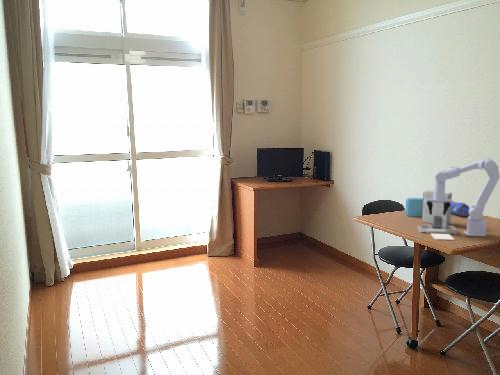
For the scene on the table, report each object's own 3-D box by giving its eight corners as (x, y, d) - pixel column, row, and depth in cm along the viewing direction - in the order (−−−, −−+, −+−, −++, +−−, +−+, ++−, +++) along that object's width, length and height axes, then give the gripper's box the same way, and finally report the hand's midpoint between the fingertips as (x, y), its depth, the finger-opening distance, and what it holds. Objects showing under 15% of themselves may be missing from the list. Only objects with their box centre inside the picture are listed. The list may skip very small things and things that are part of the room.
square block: (439, 230, 247) (440, 215, 245) (441, 232, 243) (442, 217, 241) (432, 230, 247) (433, 215, 246) (434, 232, 244) (435, 217, 242)
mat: (449, 235, 237) (449, 234, 237) (454, 240, 228) (454, 239, 228) (430, 234, 239) (430, 233, 239) (435, 239, 230) (435, 238, 229)
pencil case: (435, 210, 294) (436, 197, 292) (444, 209, 296) (445, 196, 295) (460, 218, 273) (461, 204, 271) (470, 216, 276) (471, 202, 274)
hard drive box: (450, 223, 260) (452, 192, 257) (446, 226, 255) (448, 194, 251) (425, 219, 271) (427, 189, 267) (421, 222, 265) (422, 191, 262)
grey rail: (452, 229, 247) (453, 225, 247) (456, 233, 239) (457, 229, 239) (417, 228, 251) (417, 224, 250) (420, 232, 243) (420, 228, 243)
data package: (422, 214, 283) (423, 197, 281) (425, 216, 279) (426, 199, 276) (405, 215, 283) (406, 198, 281) (407, 216, 279) (408, 199, 276)
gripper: (450, 191, 243) (448, 213, 246) (424, 190, 246) (422, 212, 248) (454, 193, 237) (451, 216, 239) (427, 192, 239) (425, 215, 241)
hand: (437, 214), depth 243 cm, fingers open, 7 cm apart
